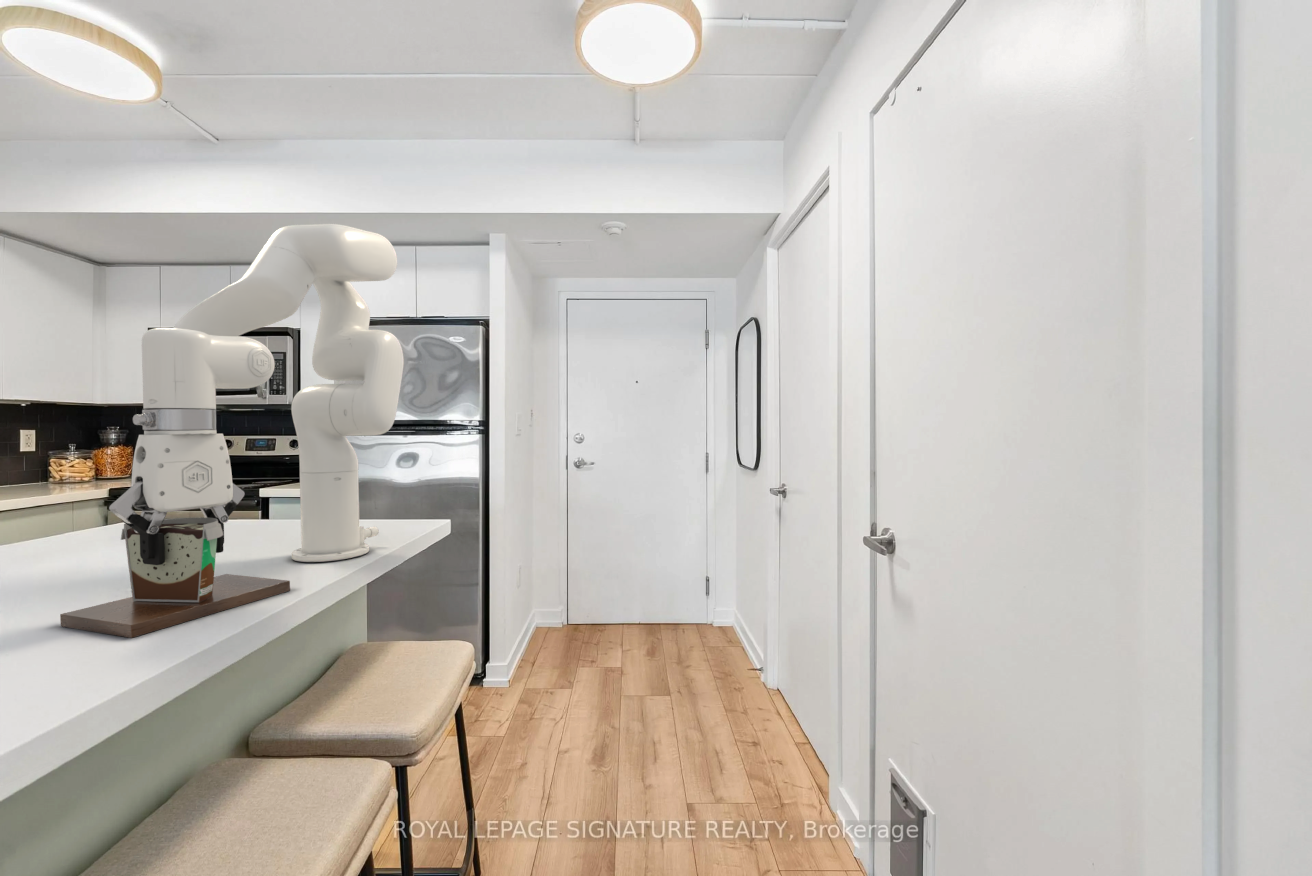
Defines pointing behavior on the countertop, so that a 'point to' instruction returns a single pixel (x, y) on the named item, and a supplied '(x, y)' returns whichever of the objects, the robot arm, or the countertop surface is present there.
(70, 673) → the countertop surface
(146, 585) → the food container
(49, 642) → the countertop surface
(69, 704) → the countertop surface
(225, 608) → the cutting board
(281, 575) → the countertop surface
